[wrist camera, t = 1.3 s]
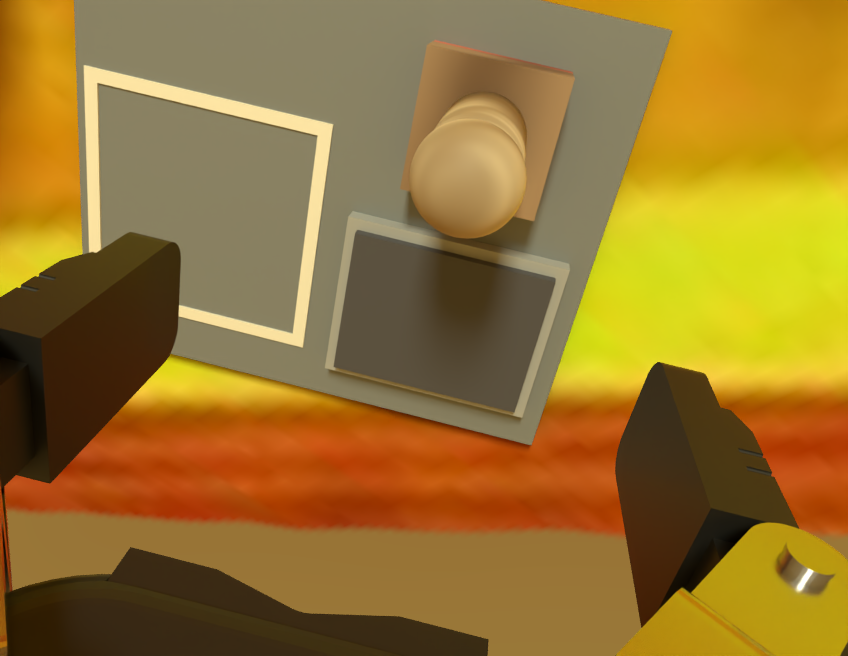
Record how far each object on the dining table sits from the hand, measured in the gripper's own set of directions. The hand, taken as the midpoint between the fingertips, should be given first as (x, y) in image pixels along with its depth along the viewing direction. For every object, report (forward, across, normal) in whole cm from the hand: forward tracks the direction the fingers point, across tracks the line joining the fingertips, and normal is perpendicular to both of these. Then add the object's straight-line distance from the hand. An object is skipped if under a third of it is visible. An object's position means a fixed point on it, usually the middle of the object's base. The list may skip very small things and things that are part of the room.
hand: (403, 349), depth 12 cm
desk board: (+21, +6, +5) cm, 22 cm away
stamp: (+20, 0, 0) cm, 20 cm away
